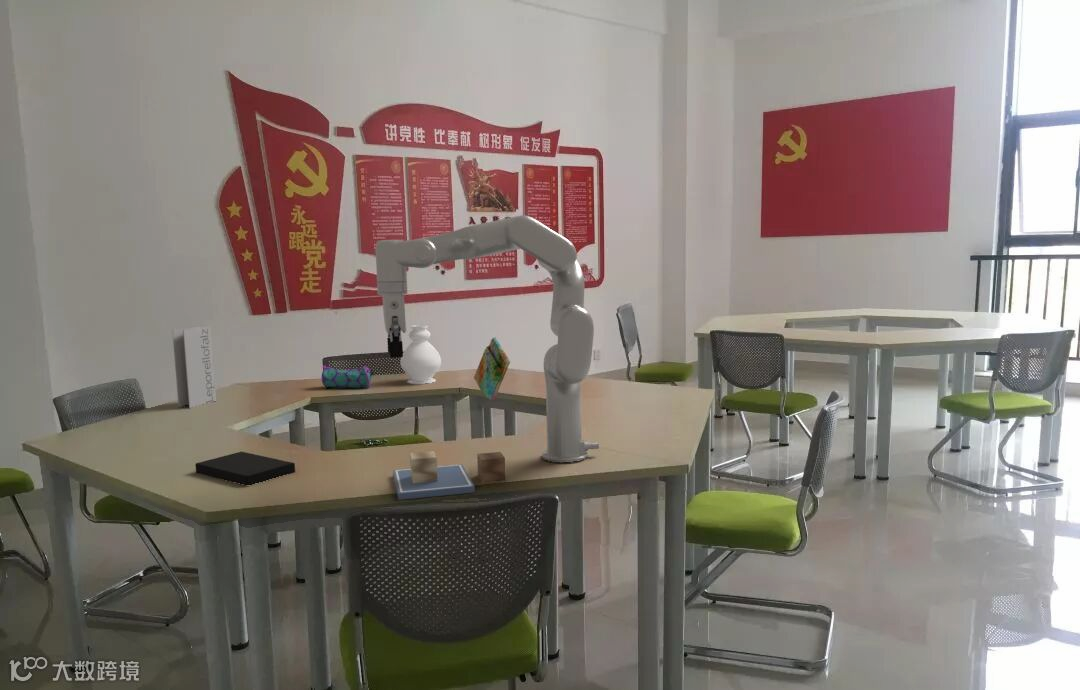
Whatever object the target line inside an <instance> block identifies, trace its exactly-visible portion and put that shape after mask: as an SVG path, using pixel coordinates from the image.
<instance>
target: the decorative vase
mask: <svg viewBox="0 0 1080 690" xmlns="http://www.w3.org/2000/svg"><path fill="white" fill-rule="evenodd" d="M427 328H429V325H428V324H416V325H410V329H412V330H411V331H409V334H408V337H409V339H410V340H411V343H410V344H409V345H408V346H407V347H406V349H405V350H403V357H400V361H399V362H400V366H401V368H402V370H403V372H404V373H405V374H406V375H407V376H408V377H409V378H410V379H409V380H407V384H409V383H410V385H426V384H425V383H429V384H433V383H432V382H434V383H436V382H437V379H435V378H434V376H435V374H436V373H437V371H438V370H439V369H440V368H441V365H442V359H441V358H442V357H441V355H440V353H439V352H438V350H437V348H435V347H434V346H433V345H432V344H431V343H430V342H429V341H428V340H429V338H430V337H431V332H430V331H429V330H428V329H427ZM435 381H436V382H435Z"/></svg>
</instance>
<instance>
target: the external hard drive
mask: <svg viewBox="0 0 1080 690" xmlns="http://www.w3.org/2000/svg"><path fill="white" fill-rule="evenodd" d="M194 465H195V473H196V474H199V475H201V476H202V475H203V476H205V477H211V478H214V479H218V480H221V479H222V480H221V481H225V480H227V481H226V482H229V481H231V482H230V483H233V482H236V483H235V484H237V483H240V484H239V485H241V484H244V485H243V486H245V485H252V484H255V483H258V484H260V483H259V482H262V483H264V482H263V481H265V482H267V481H266V480H268V481H270V480H269V479H272V478H275V479H277V478H276V477H278V478H280V477H279V476H281V477H284V476H283V475H285V476H287V474H288V475H291V474H294V473H296V466H295V465H296V464H295V462H292V461H287V460H282V459H278V458H274V457H273V458H272V457H269V456H268V457H267V456H264V455H259V454H253V453H250V452H245V451H238V452H233V453H229V454H227V455H224V456H219V457H216V458H215V457H214V458H212V459H211V458H210V459H208V460H204V461H200V462H196V463H195V464H194ZM272 480H273V479H272ZM255 485H256V484H255ZM252 486H253V485H252Z"/></svg>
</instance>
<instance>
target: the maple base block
mask: <svg viewBox="0 0 1080 690" xmlns="http://www.w3.org/2000/svg"><path fill="white" fill-rule="evenodd" d="M437 460H438V457H437V455H436V452H435V451H433V450H431V451H423V452H422V451H421V452H410V453H409V463H410V469H411V478H412V482H413V483H423V482H433V481H438V479H437V466H438V461H437Z"/></svg>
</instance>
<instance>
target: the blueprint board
mask: <svg viewBox="0 0 1080 690" xmlns="http://www.w3.org/2000/svg"><path fill="white" fill-rule="evenodd" d="M392 475H393V480H394V485H396V486H395V489H396V493H397V494H396V495H397V499H398V501H399V500H402V501H403V500H410V499H422V498H431V497H442V496H443V497H444V496H452V495H461V494H473V493H475V485H474V483H473V481H472V479H471V477H470V476H469V474H468V472H467V471H466V468H465V467H464V465H463V463H461V464H450V465H449V464H448V465H439V466H438V465H437V479H438V481H433V482H423V483H413V482H412V478H411V468H405V469H395V470H394V469H393V470H392Z"/></svg>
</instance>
